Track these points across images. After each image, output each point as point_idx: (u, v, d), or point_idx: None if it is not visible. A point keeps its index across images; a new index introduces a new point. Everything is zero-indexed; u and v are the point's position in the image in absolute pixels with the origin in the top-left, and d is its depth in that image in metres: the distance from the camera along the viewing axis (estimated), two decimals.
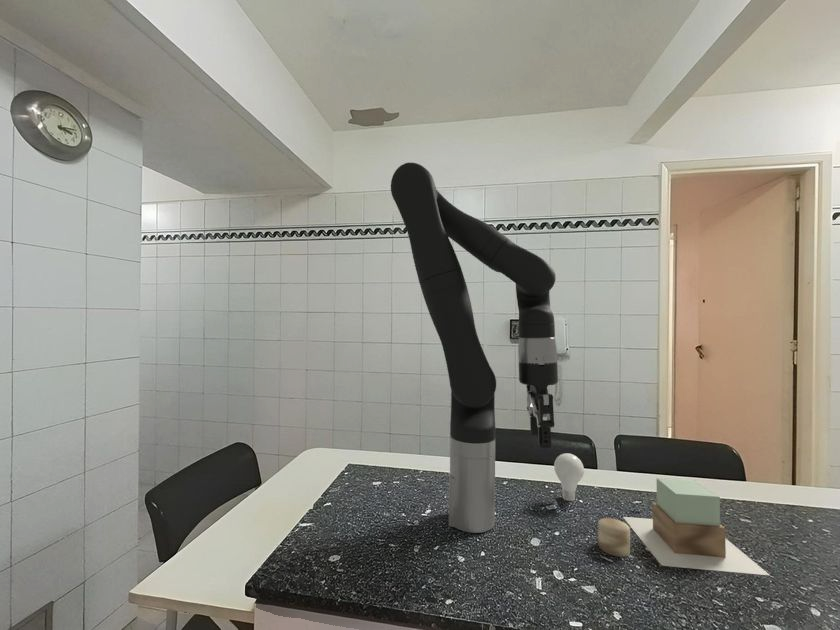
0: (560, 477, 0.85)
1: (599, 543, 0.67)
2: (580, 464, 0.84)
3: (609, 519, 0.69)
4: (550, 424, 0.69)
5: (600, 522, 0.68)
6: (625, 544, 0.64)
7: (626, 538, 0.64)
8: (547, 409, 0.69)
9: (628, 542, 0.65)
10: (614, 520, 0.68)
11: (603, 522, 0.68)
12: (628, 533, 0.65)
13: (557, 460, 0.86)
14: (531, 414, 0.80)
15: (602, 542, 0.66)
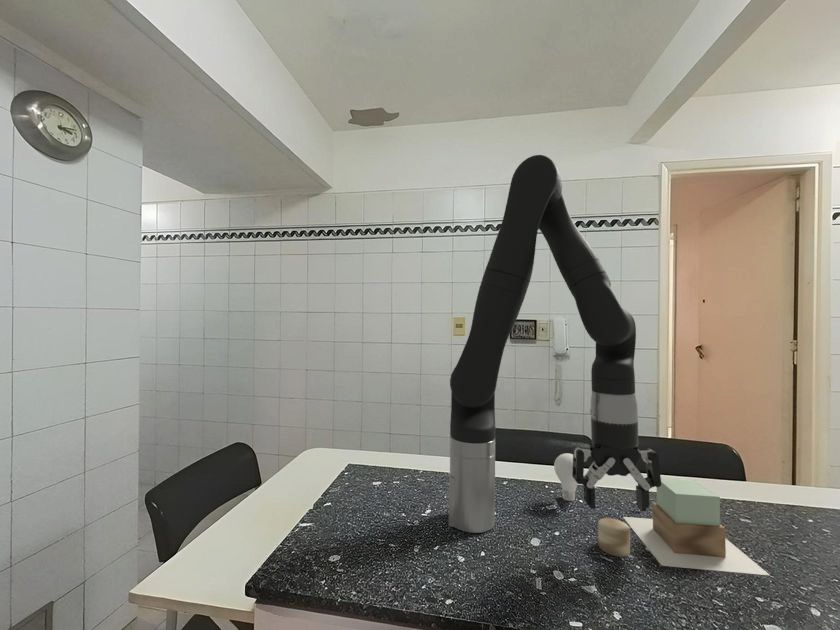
0: (560, 477, 0.85)
1: (599, 543, 0.67)
2: None
3: (609, 519, 0.69)
4: None
5: (600, 522, 0.68)
6: (625, 544, 0.64)
7: (626, 538, 0.64)
8: None
9: (628, 542, 0.65)
10: (614, 520, 0.68)
11: (603, 522, 0.68)
12: (628, 533, 0.65)
13: (557, 460, 0.86)
14: None
15: (602, 542, 0.66)
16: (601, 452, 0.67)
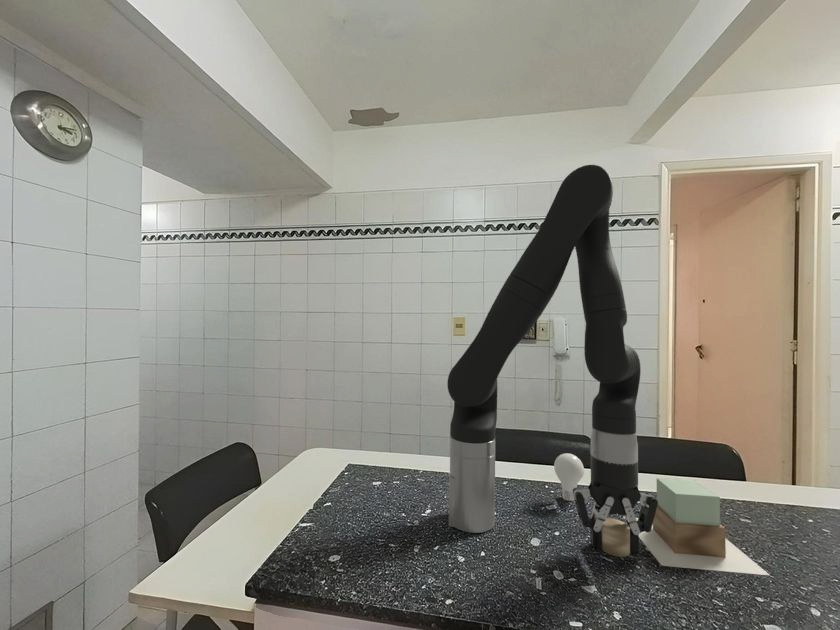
0: (560, 477, 0.85)
1: None
2: (580, 464, 0.84)
3: (609, 519, 0.69)
4: None
5: None
6: (625, 544, 0.64)
7: (626, 538, 0.64)
8: None
9: (628, 542, 0.65)
10: (614, 520, 0.68)
11: (603, 522, 0.68)
12: (628, 533, 0.65)
13: (557, 460, 0.86)
14: None
15: (602, 542, 0.66)
16: (599, 490, 0.66)
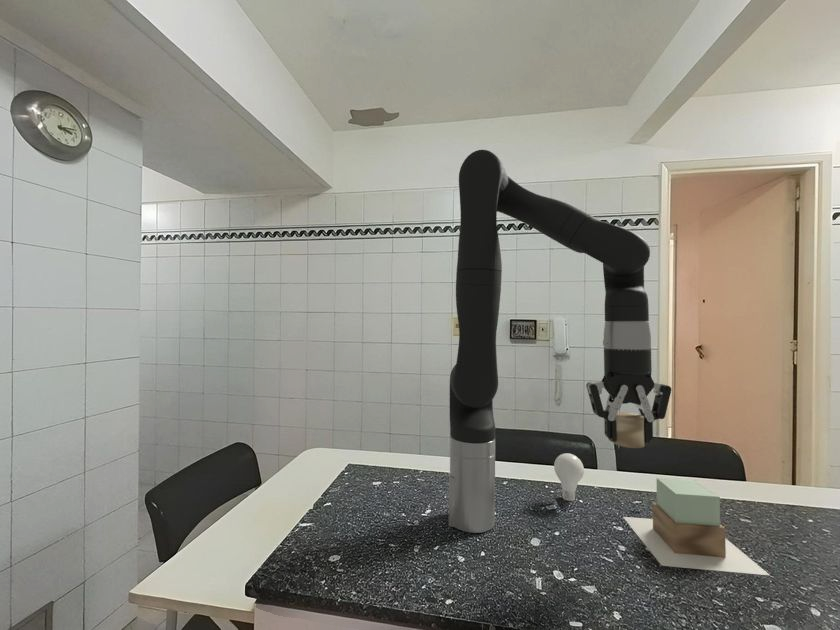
0: (560, 477, 0.85)
1: None
2: (580, 464, 0.84)
3: (622, 412, 0.70)
4: None
5: None
6: (640, 430, 0.65)
7: (641, 424, 0.65)
8: None
9: (642, 428, 0.65)
10: (628, 413, 0.69)
11: (617, 414, 0.68)
12: (642, 420, 0.65)
13: (557, 460, 0.86)
14: None
15: (617, 431, 0.67)
16: (613, 380, 0.67)
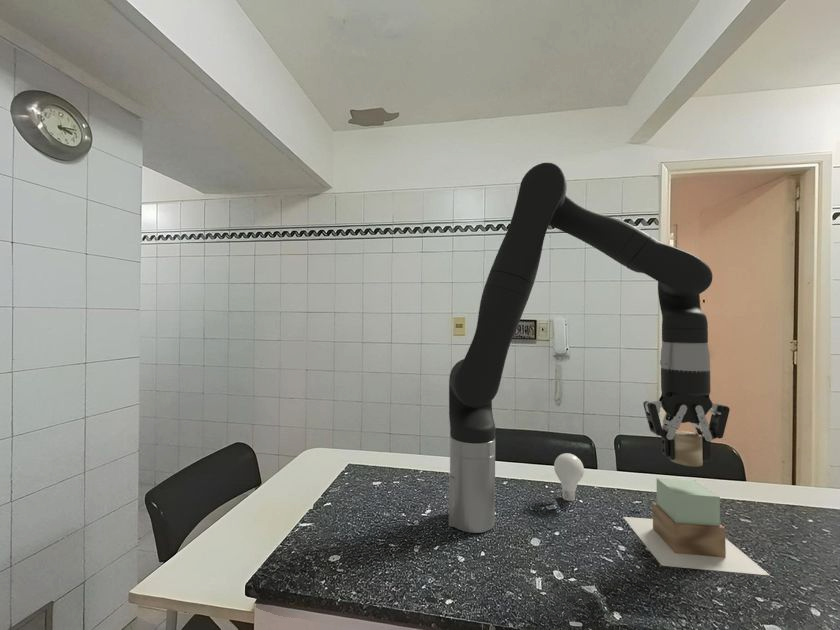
0: (560, 477, 0.85)
1: None
2: (580, 464, 0.84)
3: None
4: None
5: None
6: (699, 448, 0.67)
7: (700, 443, 0.67)
8: None
9: (701, 447, 0.67)
10: (684, 431, 0.71)
11: None
12: (701, 439, 0.67)
13: (557, 460, 0.86)
14: None
15: (675, 449, 0.68)
16: (671, 399, 0.69)
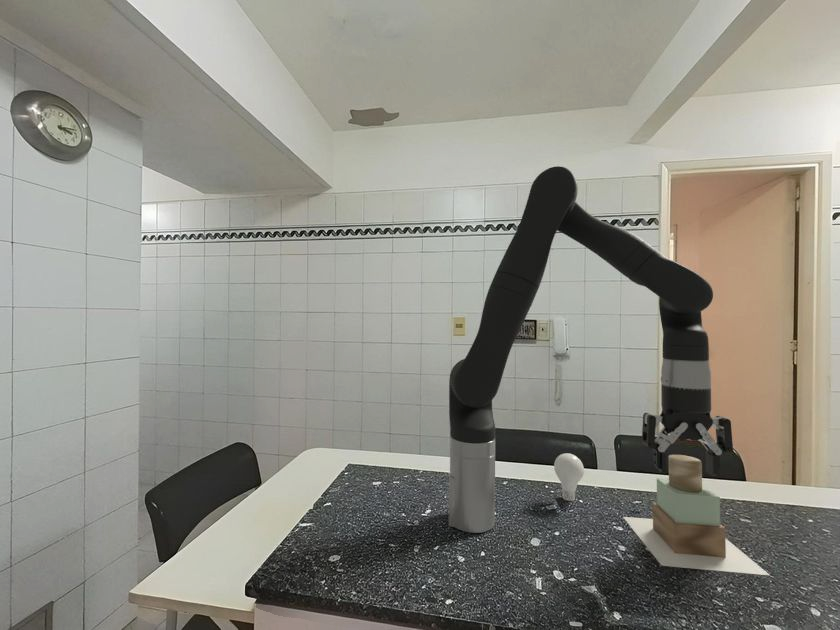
0: (560, 477, 0.85)
1: (670, 476, 0.69)
2: (580, 464, 0.84)
3: (678, 455, 0.71)
4: None
5: (671, 457, 0.70)
6: (698, 474, 0.67)
7: (699, 469, 0.67)
8: None
9: (701, 473, 0.67)
10: (683, 456, 0.71)
11: (673, 457, 0.70)
12: (701, 465, 0.67)
13: (557, 460, 0.86)
14: None
15: (675, 475, 0.68)
16: (673, 417, 0.69)
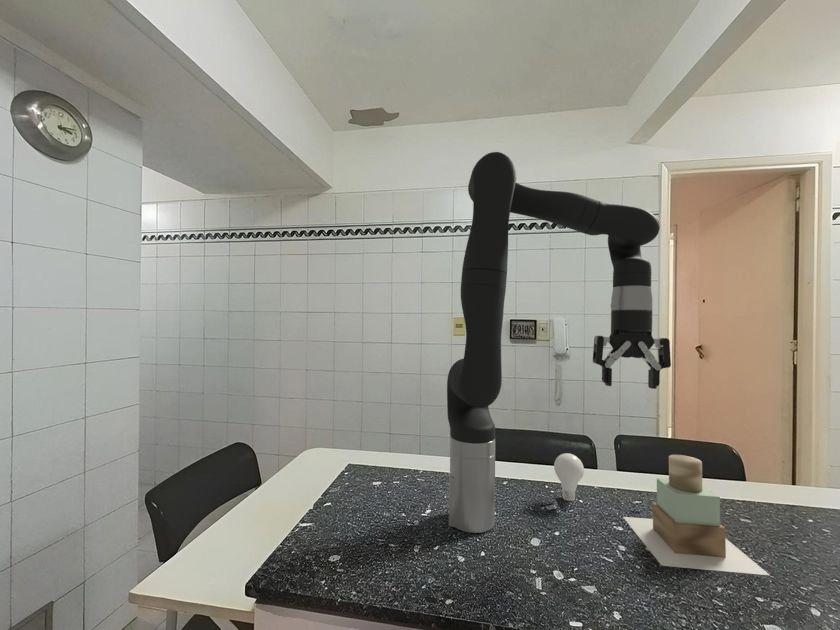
0: (560, 477, 0.85)
1: (670, 476, 0.69)
2: (580, 464, 0.84)
3: (678, 455, 0.71)
4: None
5: (671, 457, 0.70)
6: (698, 475, 0.67)
7: (700, 470, 0.67)
8: None
9: (701, 473, 0.67)
10: (684, 456, 0.71)
11: (674, 457, 0.70)
12: (701, 465, 0.67)
13: (557, 460, 0.86)
14: None
15: (675, 475, 0.68)
16: (619, 337, 0.77)
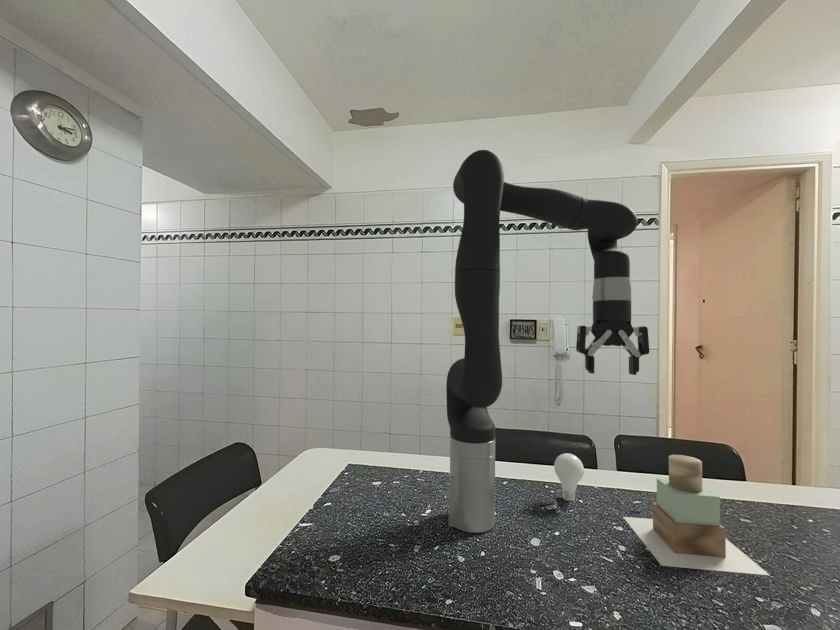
0: (560, 477, 0.85)
1: (670, 476, 0.69)
2: (580, 464, 0.84)
3: (678, 455, 0.71)
4: None
5: (671, 457, 0.70)
6: (698, 475, 0.67)
7: (700, 470, 0.67)
8: None
9: (701, 473, 0.67)
10: (684, 456, 0.71)
11: (674, 457, 0.70)
12: (701, 465, 0.67)
13: (557, 460, 0.86)
14: None
15: (675, 475, 0.68)
16: (600, 327, 0.81)
